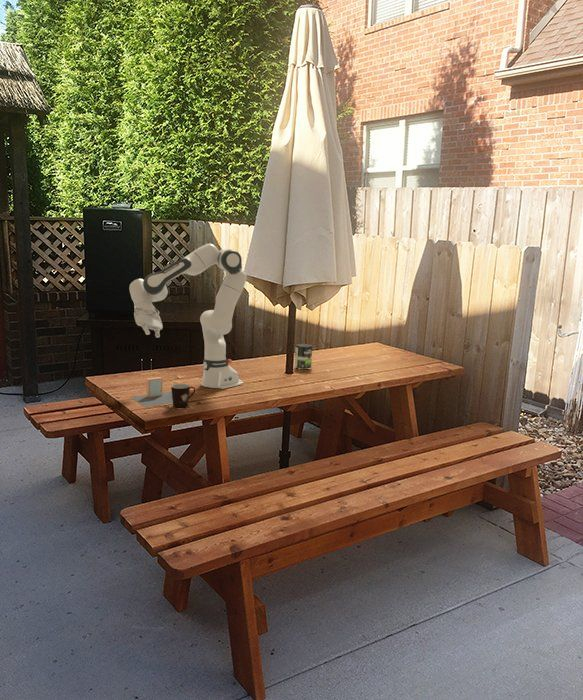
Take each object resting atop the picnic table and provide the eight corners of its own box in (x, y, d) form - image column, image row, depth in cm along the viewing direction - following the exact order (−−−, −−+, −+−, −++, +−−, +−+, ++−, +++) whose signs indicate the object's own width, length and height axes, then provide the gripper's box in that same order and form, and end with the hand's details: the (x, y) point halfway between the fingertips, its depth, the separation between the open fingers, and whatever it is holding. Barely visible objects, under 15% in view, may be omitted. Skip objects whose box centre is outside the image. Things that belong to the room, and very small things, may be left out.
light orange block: (160, 394, 314) (160, 376, 312) (162, 396, 312) (162, 378, 310) (146, 396, 310) (146, 378, 308) (149, 397, 308) (148, 379, 306)
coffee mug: (171, 409, 292) (172, 388, 290) (170, 404, 300) (170, 383, 298) (197, 408, 295) (197, 387, 293) (194, 403, 303) (195, 383, 301)
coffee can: (314, 368, 383) (316, 345, 380) (302, 370, 376) (303, 347, 374) (303, 365, 391) (304, 342, 388) (290, 367, 384) (291, 344, 381)
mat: (171, 391, 321) (171, 391, 321) (188, 400, 307) (188, 400, 307) (129, 397, 308) (129, 397, 308) (145, 407, 294) (145, 406, 294)
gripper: (139, 303, 304) (147, 329, 301) (160, 311, 324) (168, 336, 321) (128, 309, 306) (136, 335, 303) (150, 316, 325) (158, 341, 322)
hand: (153, 335), depth 312 cm, fingers open, 8 cm apart
